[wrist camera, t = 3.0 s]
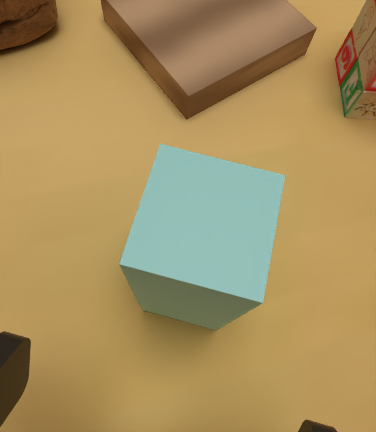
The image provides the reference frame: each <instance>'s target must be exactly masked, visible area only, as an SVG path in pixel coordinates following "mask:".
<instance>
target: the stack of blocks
mask: <svg viewBox="0 0 376 432" xmlns="http://www.w3.org/2000/svg"><path fill="white" fill-rule="evenodd" d="M335 60H336V67H337V74H338V80H339V86H340V89H341V96H342V103H343V110H344V117H345V118H356V119H369V120H376V0H367V1H366V3H365V5H364V7H363V8H362V10H361V12H360V14H359V16H358V18H357V20H356V21H355V23H354V25H353V28H351V30H350V32H349V33H348V35H347V37H346V39H345V41H344V43H343V45H342V46H341V48H340V50H339V52H338V53H337V55H336V58H335Z"/></svg>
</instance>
